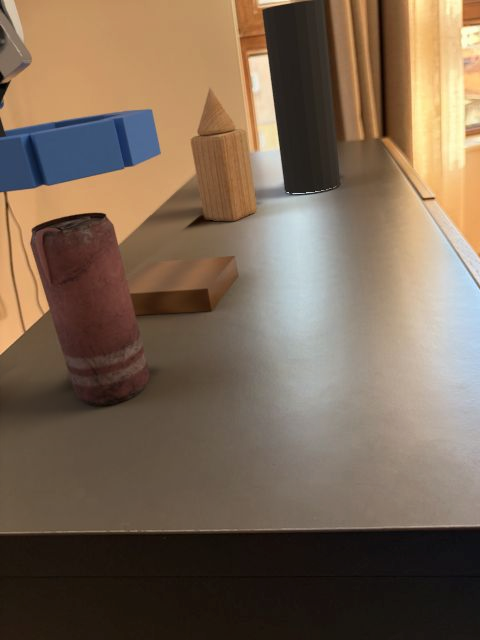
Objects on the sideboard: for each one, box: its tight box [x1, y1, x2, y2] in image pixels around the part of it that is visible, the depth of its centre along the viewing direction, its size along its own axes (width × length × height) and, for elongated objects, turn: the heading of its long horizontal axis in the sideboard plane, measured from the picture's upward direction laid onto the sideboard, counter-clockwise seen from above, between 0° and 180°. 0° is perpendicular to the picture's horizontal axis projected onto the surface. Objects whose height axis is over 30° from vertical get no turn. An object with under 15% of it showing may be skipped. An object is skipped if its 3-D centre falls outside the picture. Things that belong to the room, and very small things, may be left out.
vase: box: [261, 0, 341, 193], centre depth 111 cm, size 10×10×30 cm
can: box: [29, 212, 151, 407], centre depth 49 cm, size 6×6×14 cm
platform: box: [127, 255, 239, 316], centre depth 71 cm, size 11×11×2 cm
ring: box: [0, 108, 162, 193], centre depth 44 cm, size 14×14×3 cm
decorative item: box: [190, 87, 258, 222], centre depth 101 cm, size 7×7×20 cm
